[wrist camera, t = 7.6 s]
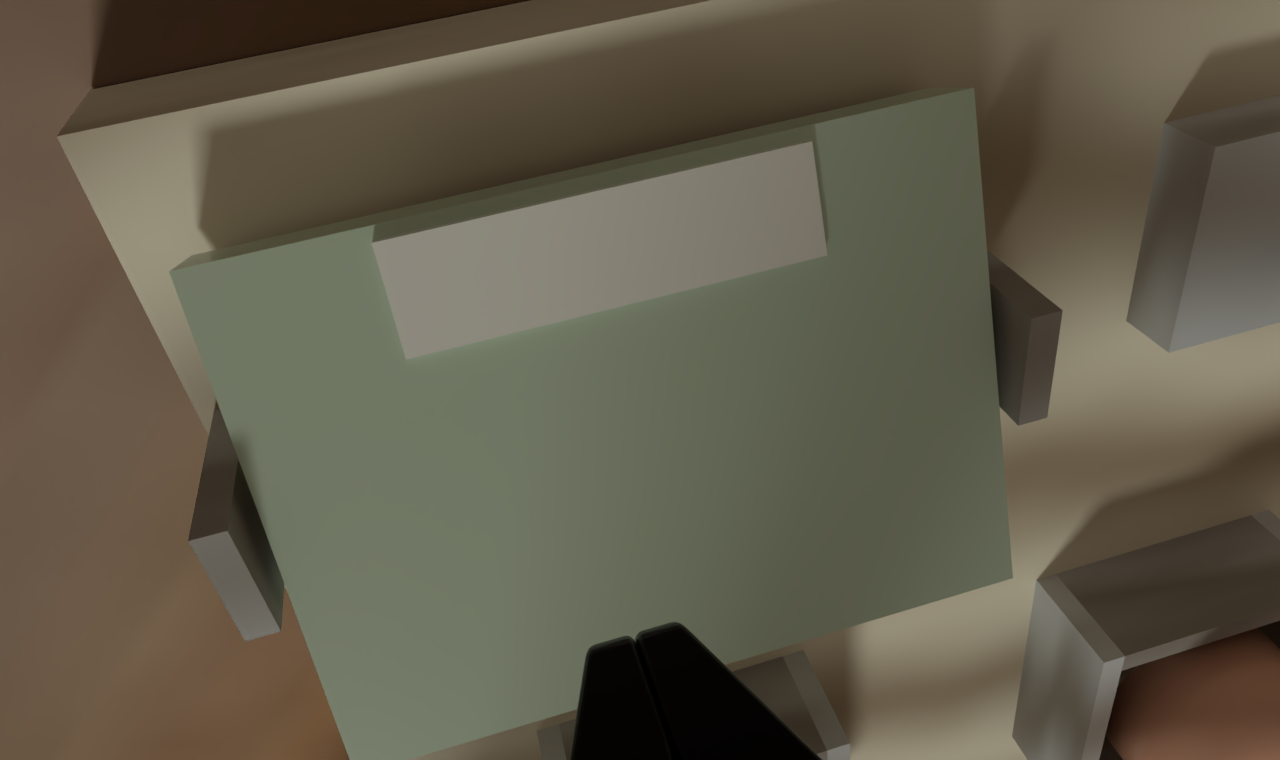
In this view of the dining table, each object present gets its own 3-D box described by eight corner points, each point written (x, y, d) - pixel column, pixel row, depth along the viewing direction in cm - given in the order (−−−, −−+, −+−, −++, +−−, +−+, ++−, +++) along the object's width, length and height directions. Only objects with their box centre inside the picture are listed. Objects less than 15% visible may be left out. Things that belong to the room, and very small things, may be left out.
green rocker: (975, 546, 17) (1017, 582, 16) (361, 726, 16) (354, 781, 15) (932, 87, 15) (979, 87, 13) (191, 255, 13) (165, 273, 12)
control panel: (1247, 638, 30) (1385, 776, 26) (467, 888, 27) (487, 1088, 23) (1552, -207, 17) (1926, -190, 13) (90, 89, 14) (-16, 234, 10)
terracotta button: (1244, 716, 25) (1323, 803, 23) (1090, 767, 24) (1157, 861, 22) (1289, 601, 22) (1382, 688, 20) (1117, 656, 22) (1196, 751, 20)
